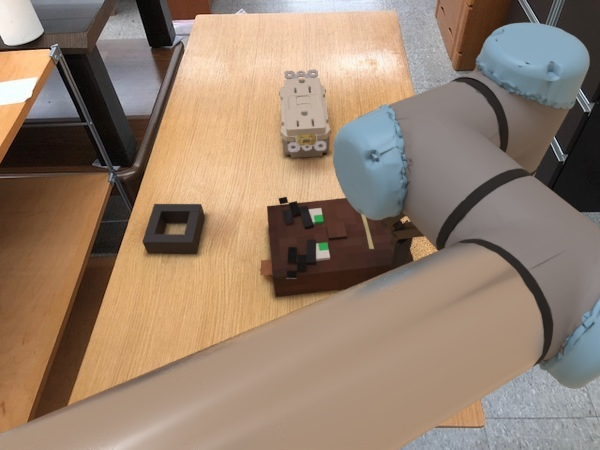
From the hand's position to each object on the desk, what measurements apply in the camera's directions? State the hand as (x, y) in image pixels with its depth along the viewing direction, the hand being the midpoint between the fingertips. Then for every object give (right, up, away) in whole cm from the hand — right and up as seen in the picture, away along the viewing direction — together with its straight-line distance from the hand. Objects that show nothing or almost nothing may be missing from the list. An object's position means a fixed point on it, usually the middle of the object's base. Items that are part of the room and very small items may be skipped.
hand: (435, 297), depth 60 cm
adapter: (-44, +8, +33) cm, 56 cm away
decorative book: (-11, +4, +29) cm, 31 cm away
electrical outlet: (-17, +32, +52) cm, 64 cm away
